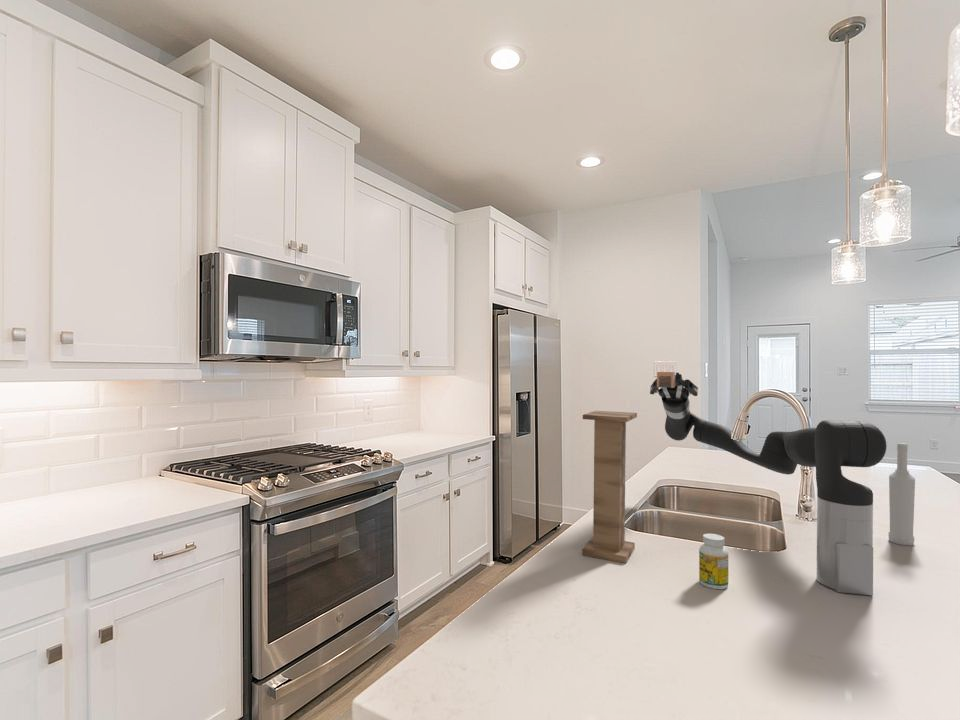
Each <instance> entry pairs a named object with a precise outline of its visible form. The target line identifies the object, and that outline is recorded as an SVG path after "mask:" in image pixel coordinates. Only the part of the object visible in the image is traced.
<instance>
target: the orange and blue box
mask: <svg viewBox="0 0 960 720" xmlns="http://www.w3.org/2000/svg"><path fill="white" fill-rule="evenodd" d="M656 379H657V387H659V388H662V387H666V388H674V387H675V386H678V385H677V382H676V372H675V371H657V372H656Z"/></svg>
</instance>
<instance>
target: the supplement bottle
mask: <svg viewBox="0 0 960 720" xmlns="http://www.w3.org/2000/svg"><path fill="white" fill-rule="evenodd" d="M725 540H726V539H725V537H724V536H722V535H720V534H717V533H703V534H702V542H703V543H702V544H701V545H700V546H699V550H698V554H699V559H698V560H699V562H698V563H699V565H698V566H699V568H698V570H699V571H698V573H699V575H698V578H699V582H700V584H701V585H703V586H705V587H706V588H708V589H713V590H725V589H727V588H728V587H729V550H728V549H727V548H726V547H725V543H726V541H725Z"/></svg>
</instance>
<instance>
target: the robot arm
mask: <svg viewBox="0 0 960 720" xmlns="http://www.w3.org/2000/svg"><path fill="white" fill-rule="evenodd" d="M675 375H676V382H677V385H678V386H675V387H674V388H666V387H657V378H655V380H654V381H653V382H652V384H651V385H650V388H649V389H650V390H649V394H650V395H655V394H658V395H659V397H661V402H662V406H663V409H664V412H665V415H666V418H665V424H664V430H665V433H666V435H667V436H668V437H669V438H671V439H672V440H674V441H680V442H681V441H683V440H685V439H686V438H688V435H689V433H690V431H691V430H692V429H693V430H692V437H693V439H694V440H695V441H696V442H700V443H701V444H702V443H703V444H705V445H709V446H712V447H715V448H717V449H721V450H723V451H726V452H728V453H730V454H732V455H735V456H736V457H738V458H741V459H743V460H746V461H748V462H751V463H753V464H755V465H757V466H760V467H762V468H764V469H767V470H769V471H772V472H774V473H778V474H782V475H793V474H794V473H795V471H796V469H797V468H798V467H797V466H798V465H799V466H802V467H807V468H815V482H816V493H817V495H816V496H817V497H816V498H817V499H816V505H817V506H816V580H817V582H819V583H820V584H822V585H823V586H826V587H828V588H830V589H832V590H834V591H835V592H837V593H843V594H853V595H854V594H856V595H866V596H873V595H874V547H873V546H874V545H873V543H874V541H873V540H874V539H873V538H874V537H873V535H874V530H873V529H874V528H873V527H874V520H873V519H874V493H873V491H872V489H871V488H870V487H868V486H867V485H864V484H862V483H858V482H856V481H853V480H852V479H851V480H850V479H849V478H847V477H845V476H844V475H843V472H842V471H843V470H842V467H847V468H848V467H850V468H851V467H852V468H871V467H874V466H876V465H878V464H879V463H880V462H881V461H882V460H883V459H884V457H885V455H886V452H887V440H886V437H885V435H884V434H883V432H882V431H881V429H880V428H878V427H877V426H876V425H874V424H872V423H870V422H868V421H867V422H866V421H861V420H860V421H858V420H835V419H834V420H831V419H829V420H822V421H820V422H819V423H818V424H817V425H816V427H808V428H802V429H797V430H792V431H771V432H769V433H768V435H767V436H766V437H765V440H764V443H763V446H762V449H761V450H760V453H758V452H755V451H753V450H752V449H750V448H749V447H748V446H747V445H746V444H745V443H744V442H742V440H741V439H740V438H739V439H737V440H739V441H737V440H733V439H731V432H733V431H732V430H731V429H730V428H729V427H727V426H724V425H722V424H719V423H715V422H712V421H708V420H706V419H703V418H701V417H699V416H697V415H696V414H695V413H693V412H691V411H690V399H689V397H690V395H692V396H694V397H697V396H698V392H699V387H698V386H697V385H695V384H694V383H693V381H691V380H690V379H685V380H684V379H683V375H682V374H681V373H680V372H675ZM692 427H693V428H692ZM736 437H738V435H736ZM733 438H734V437H733Z"/></svg>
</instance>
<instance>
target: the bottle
mask: <svg viewBox="0 0 960 720" xmlns="http://www.w3.org/2000/svg"><path fill="white" fill-rule="evenodd" d="M896 451H897V453H896V454H897V456H896V457H897V459H896V460H897V463H896V464H897V465H896V469H895V471H894V472H892V473H890V474H889V475H888V487H889V488H888V489H889V490H888V491H889V492H888V495H889V496H888V497H889V498H888V499H889V501H888V502H889V504H888V505H889V532H888V535H887V536H888V540H889V541H890V542H891V543H894V544H897V545H899V546H900V545H901V546H913V545H914V544H915V536H914V519H915V495H916V492H915V491H916V477H914V476H913V475H912V474H911V473H909V472H910V471H909V470H908V443H902V442H897V443H896Z"/></svg>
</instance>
